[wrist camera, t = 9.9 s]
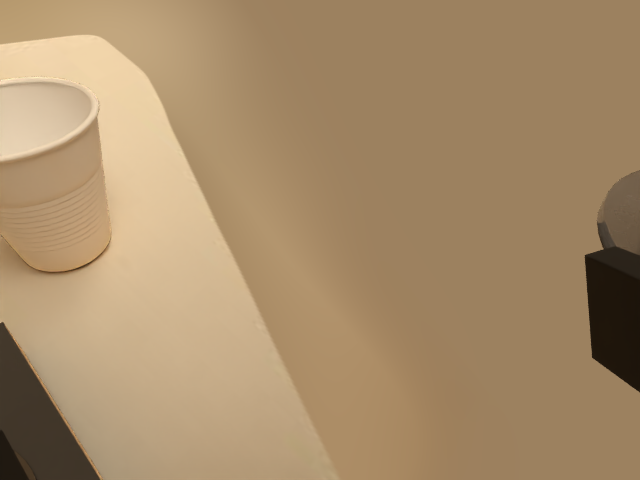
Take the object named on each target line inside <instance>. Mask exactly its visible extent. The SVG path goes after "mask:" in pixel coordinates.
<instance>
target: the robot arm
mask: <svg viewBox="0 0 640 480" xmlns="http://www.w3.org/2000/svg"><path fill="white" fill-rule="evenodd" d="M585 265H586V278H587V293H588V306H589V320H590V334H591V348H592V358H593V359H595V360H596V361H598V362H599V363H600V364H602V365H603V366H604V367H606V368H607V369H609V370H610V371H611V372H613V373H614V374H616V375H617V376H618V377H619V378H621V379H622V380H624V381H625V382H626V383H628V384H629V385H630V386H632V387H633V388H635V389H636V390H637V391H639V392H640V255H637V254H635V253H632V252H630V251H627V250H625V249H622V248H619V247H617V246H614V247H610V248H607V249H604V250H600V251H597V252H594V253H590V254H587V255H585ZM0 480H29V478H28V476H27V474H26V473H25V471H24V469H23V467H22V465H21V463H20V462H19V460H18V458H17V456H16V454H15V452H14V451H13V449H12V447H11V445H10V443H9V442H8V440H7V438H6V436H5V434H4V432H3V431H2V430H0Z"/></svg>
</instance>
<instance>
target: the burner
mask: <svg viewBox="0 0 640 480" xmlns="http://www.w3.org/2000/svg"><path fill="white" fill-rule="evenodd" d="M13 451H14V452H15V454H16V456H17V458H18V460H19V462H20V463H21V465H22V467H23V469H24V471H25V473H26V474H27V476H28V478H29V480H37V479H36V476H35V474H34V472H33V470H32V469H31V467H30V466H29V464H28V463H27V462H26V460H25V459H24V458H23V457H22V456H21V455H20V454H19V453H18V452H16V451H15V450H13Z"/></svg>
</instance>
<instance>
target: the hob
mask: <svg viewBox="0 0 640 480" xmlns="http://www.w3.org/2000/svg"><path fill="white" fill-rule="evenodd" d="M0 430H2V431H3V432H4V434H5V436H6V438H7V440H8V442H9V443H10V445H11V447H12V449H13V450H15V451H16V452H18V453H19V454H20V455H21V456H22V457H23V458H24V459H25V460H26V462H27V463H28V464H29V466H30V467H31V469H32V470H33V472H34V474H35V476H36V479H37V480H103V478H102V476H101V475H100V473H99V472H98V470H97V468H96V467H95V465H94V464H93V462H92V460H91V459H90V457H89V456H88V454H87V452H86V451H85V449H84V448H83V446H82V444H81V443H80V441H79V440H78V438H77V436H76V435H75V433H74V432H73V430H72V428H71V427H70V425H69V424H68V422H67V420H66V419H65V417H64V416H63V414H62V412H61V411H60V409H59V408H58V406H57V404H56V403H55V401H54V399H53V398H52V396H51V395H50V393H49V391H48V390H47V388H46V387H45V385H44V383H43V382H42V380H41V379H40V377H39V375H38V374H37V372H36V371H35V369H34V367H33V366H32V364H31V363H30V361H29V359H28V358H27V356H26V355H25V353H24V351H23V350H22V348H21V347H20V346H19V344H18V343H17V341H16V340H15V338H14V337H13V336H12V334H11V333H10V331H9V330H8V328H7V327H6V326H5V324H4V323H3V322H1V323H0Z"/></svg>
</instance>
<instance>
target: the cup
mask: <svg viewBox="0 0 640 480" xmlns="http://www.w3.org/2000/svg"><path fill="white" fill-rule="evenodd" d="M98 112H99V101H98V99H97V97H96V95H95V94H94V93H93V92H92V91H91V90H90V89H89V88H88V87H86V86H84V85H82V84H80V83H77V82H74V81H71V80H67V79H61V78H55V77H19V78H9V79H3V80H0V234H1V236H2V237H3V238H5V240H6V241H7V242H8V243H9V244H10V246H11V247H12V248H13V249H14V250H15V251H16V252H17V254H18V255H19V256H20V257H21V258H22V259H23V260H24V261H25V262H26V263H27V264H28V265H29V266H31V267H33V268H35V269H37V270H42V271H49V272H59V271H67V270H72V269H75V268H78V267H81V266H83V265H85V264H87V263H89V262H91V261H92V260H94V259H95V258H96V257H97V256H99V255H100V254H101V253H102V252H103V251H104V249H105V248H106V247H107V245H108V243H109V242H110V238H111V227H110V219H109V211H108V204H107V196H106V188H105V180H104V171H103V164H102V153H101V144H100V136H99V128H98V119H97V115H98Z"/></svg>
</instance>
